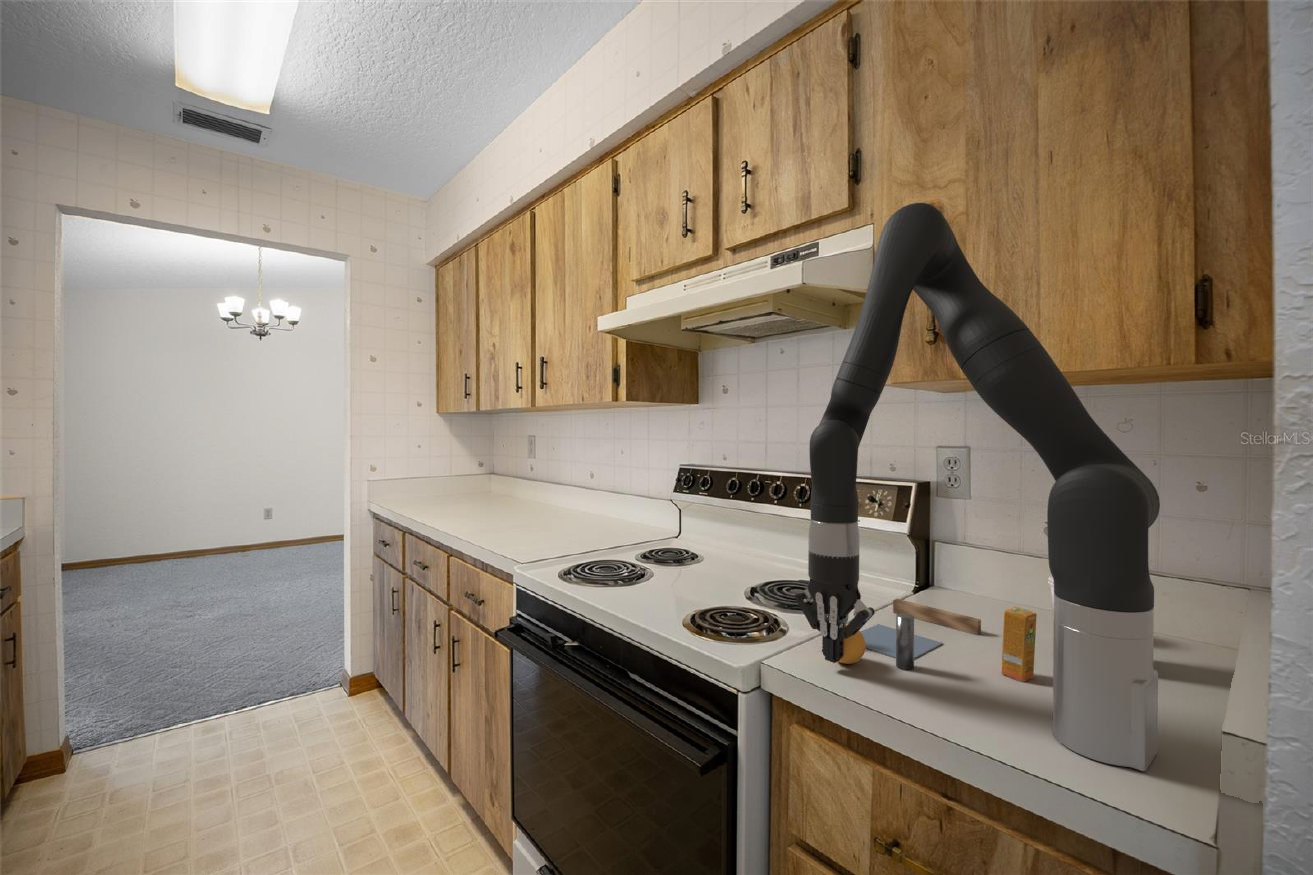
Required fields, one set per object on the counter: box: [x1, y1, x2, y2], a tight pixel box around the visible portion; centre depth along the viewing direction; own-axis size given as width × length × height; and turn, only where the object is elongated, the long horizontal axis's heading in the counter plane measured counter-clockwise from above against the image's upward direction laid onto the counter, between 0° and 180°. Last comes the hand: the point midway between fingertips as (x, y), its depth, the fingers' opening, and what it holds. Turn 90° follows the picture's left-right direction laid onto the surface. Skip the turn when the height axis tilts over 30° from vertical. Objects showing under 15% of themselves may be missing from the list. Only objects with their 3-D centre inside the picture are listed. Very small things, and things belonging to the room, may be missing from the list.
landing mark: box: [860, 623, 944, 660], centre depth 98 cm, size 12×12×1 cm
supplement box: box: [1001, 606, 1038, 683], centre depth 85 cm, size 3×3×10 cm
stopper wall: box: [892, 598, 982, 636], centre depth 108 cm, size 16×2×2 cm, turn 38°
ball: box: [838, 623, 867, 665], centre depth 90 cm, size 6×6×6 cm
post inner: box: [895, 613, 915, 671], centre depth 88 cm, size 3×3×8 cm
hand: (832, 660), depth 87 cm, fingers closed
